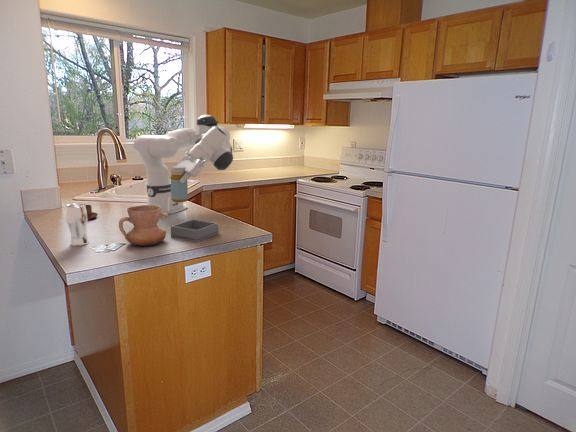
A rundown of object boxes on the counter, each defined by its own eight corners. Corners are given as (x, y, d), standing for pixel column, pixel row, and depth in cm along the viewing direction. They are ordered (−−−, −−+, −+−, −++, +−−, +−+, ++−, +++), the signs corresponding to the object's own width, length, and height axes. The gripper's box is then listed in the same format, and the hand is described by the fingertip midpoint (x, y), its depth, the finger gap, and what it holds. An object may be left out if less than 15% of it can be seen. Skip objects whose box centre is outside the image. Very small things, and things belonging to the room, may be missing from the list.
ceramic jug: (164, 235, 160) (162, 202, 156) (173, 245, 148) (171, 209, 144) (118, 241, 151) (114, 206, 148) (123, 252, 139) (119, 214, 135)
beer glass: (66, 244, 147) (61, 205, 143) (84, 239, 152) (79, 202, 149) (75, 247, 143) (71, 208, 139) (93, 242, 148) (89, 205, 145)
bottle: (181, 198, 174) (180, 165, 170) (191, 201, 169) (190, 166, 166) (168, 200, 168) (166, 166, 165) (177, 203, 164) (176, 168, 161)
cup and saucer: (67, 218, 185) (65, 205, 184) (94, 214, 192) (93, 202, 191) (72, 223, 176) (71, 210, 175) (101, 219, 184) (99, 207, 182)
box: (193, 229, 170) (193, 219, 169) (218, 233, 164) (217, 223, 163) (171, 236, 158) (170, 226, 157) (196, 241, 152) (196, 230, 151)
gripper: (212, 164, 162) (190, 188, 160) (195, 159, 179) (176, 182, 176) (201, 153, 159) (179, 178, 156) (186, 150, 176) (165, 172, 173)
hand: (177, 180), depth 166 cm, fingers closed on bottle, 7 cm apart
